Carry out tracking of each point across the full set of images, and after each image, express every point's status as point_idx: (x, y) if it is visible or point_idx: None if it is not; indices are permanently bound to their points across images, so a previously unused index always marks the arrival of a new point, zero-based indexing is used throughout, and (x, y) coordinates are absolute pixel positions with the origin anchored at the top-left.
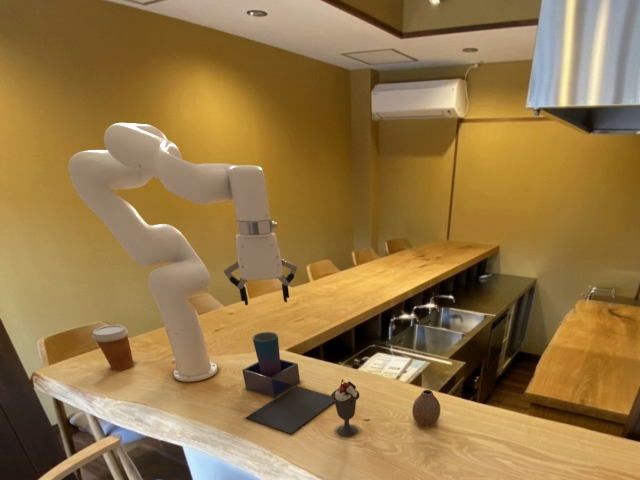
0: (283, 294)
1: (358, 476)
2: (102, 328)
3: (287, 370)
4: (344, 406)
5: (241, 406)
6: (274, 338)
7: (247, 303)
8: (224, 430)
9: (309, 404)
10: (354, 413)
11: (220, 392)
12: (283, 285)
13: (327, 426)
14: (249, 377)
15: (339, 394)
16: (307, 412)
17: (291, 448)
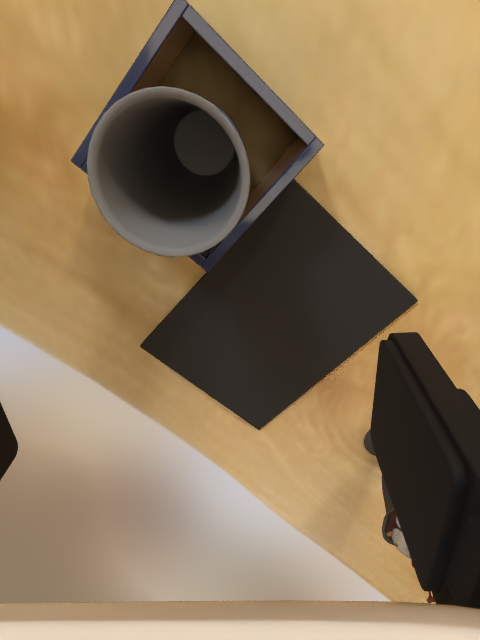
0: (393, 504)
1: (364, 544)
2: None
3: (271, 202)
4: None
5: (114, 276)
6: (229, 229)
7: (10, 461)
8: (97, 382)
9: (321, 319)
10: None
11: (11, 159)
12: (457, 586)
13: (347, 414)
14: None
15: (405, 555)
16: (309, 357)
17: (257, 466)
